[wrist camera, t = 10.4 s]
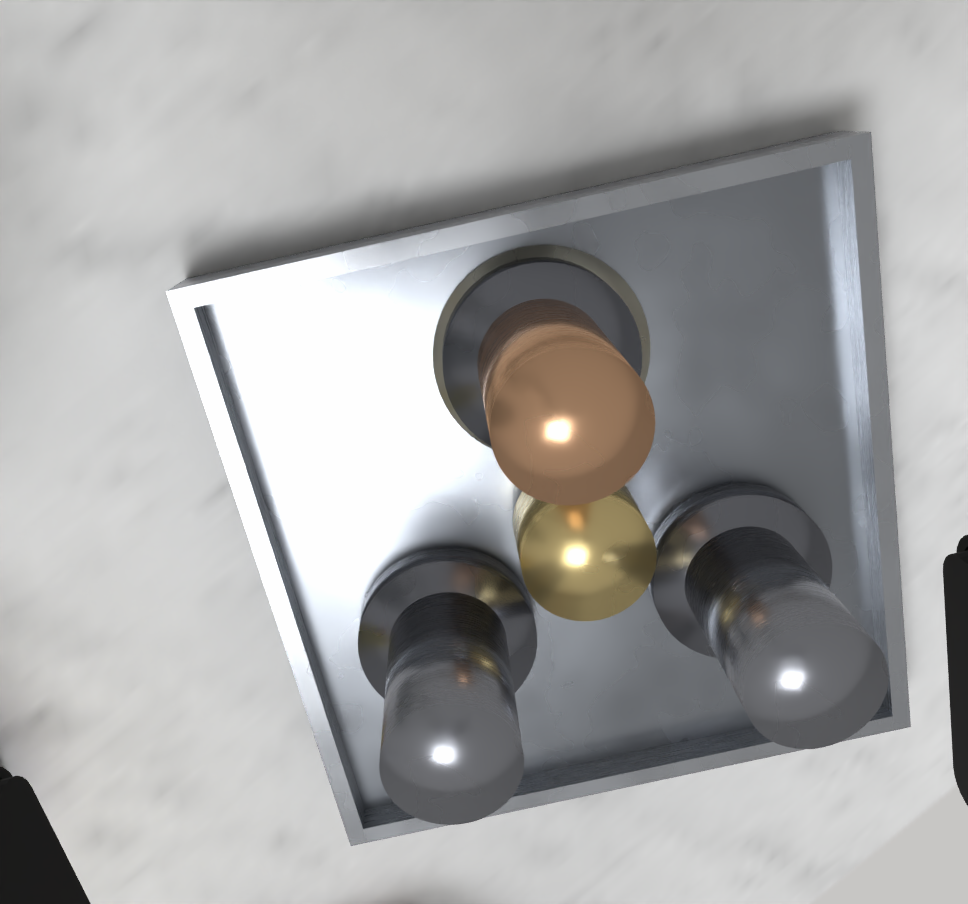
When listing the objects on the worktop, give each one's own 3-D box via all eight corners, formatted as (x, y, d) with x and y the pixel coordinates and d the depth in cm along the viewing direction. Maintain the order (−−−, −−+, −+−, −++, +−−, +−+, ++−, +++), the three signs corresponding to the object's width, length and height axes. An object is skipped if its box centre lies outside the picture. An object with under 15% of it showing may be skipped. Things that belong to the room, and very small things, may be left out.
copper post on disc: (422, 281, 27) (419, 334, 20) (617, 237, 27) (680, 275, 20) (465, 463, 29) (475, 566, 22) (647, 422, 29) (713, 514, 22)
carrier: (185, 279, 28) (88, 340, 20) (837, 131, 28) (1001, 134, 20) (355, 802, 35) (333, 1003, 27) (881, 690, 34) (1016, 860, 26)
